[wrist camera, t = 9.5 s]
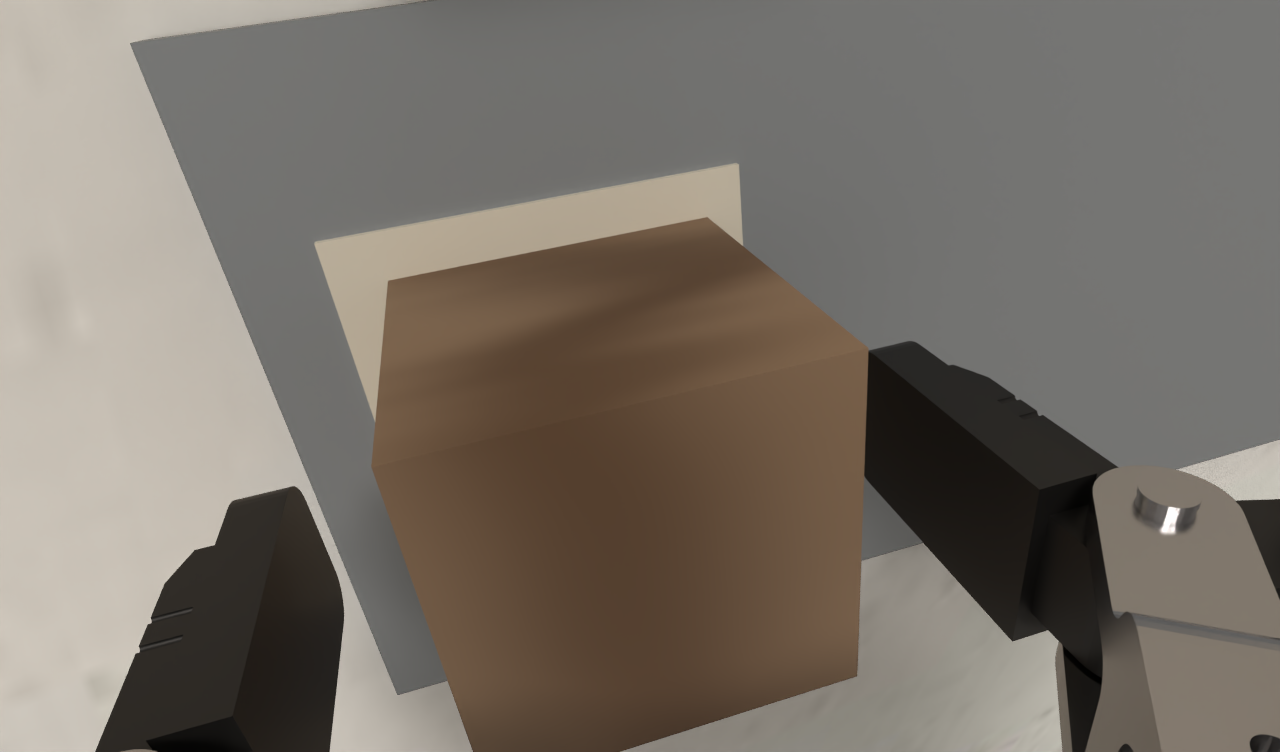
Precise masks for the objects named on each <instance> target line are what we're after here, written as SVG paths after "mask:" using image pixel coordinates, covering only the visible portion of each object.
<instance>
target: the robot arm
mask: <svg viewBox="0 0 1280 752" xmlns="http://www.w3.org/2000/svg"><path fill="white" fill-rule="evenodd" d="M864 476H865V478H866V479H867V481H868V482H869V483H870V484H871V485H872V486H873V488H874V489H875V490H876V491H877V492H878V493H879V494H880V495H881V496H882V498H883V499H884V500H885V501H886V502H887V503H888V504H889V505H890V506H891V508H892V509H893V510H894V511H895V512H896V513H897V514H898V515H899V516H900V517H901V519H902V520H903V521H904V522H905V523H906V524H907V525H908V526H909V527H910V529H911V530H912V531H913V532H914V533H915V534H916V535H917V536H918V537H919V539H920V540H921V541H922V542H923V543H924V544H925V545H926V546H927V547H928V548H929V550H930V551H931V552H932V553H933V554H934V555H935V556H936V557H937V558H938V560H939V561H940V562H941V563H942V564H943V565H944V566H945V567H946V568H947V570H948V571H949V572H950V573H951V574H952V575H953V576H954V577H955V578H956V580H957V581H958V582H959V583H960V584H961V585H962V586H963V587H964V588H965V589H966V591H967V592H968V593H969V594H970V595H971V596H972V597H973V598H974V599H975V601H976V602H977V603H978V604H979V605H980V606H981V607H982V608H983V609H984V611H985V612H986V613H987V614H988V615H989V616H990V617H991V618H992V619H993V620H994V622H995V623H996V624H997V625H998V626H999V627H1000V628H1001V629H1002V630H1003V632H1004V633H1005V634H1006V635H1007V636H1008V637H1009V638H1010V639H1011V640H1012V641H1015V640H1018V639H1021V638H1025V637H1028V636H1031V635H1034V634H1037V633H1040V632H1043V631H1046V630H1049V631H1050V632H1051V633H1052V635H1053V636H1054V637H1055V638H1056V639H1057V640H1058V641H1059V642H1058V647H1057V651H1056V656H1055V667H1056V679H1057V691H1058V703H1059V715H1060V728H1061V740H1062V752H1280V499H1274V500H1242V501H1235V500H1234V499H1233V498H1232V497H1231V496H1230V495H1229V494H1227V493H1226V492H1225V491H1223V490H1222V489H1220V488H1219V487H1217V486H1216V485H1214V484H1212V483H1210V482H1208V481H1206V480H1204V479H1202V478H1199V477H1197V476H1194V475H1192V474H1188V473H1185V472H1182V471H1179V470H1174V469H1170V468H1165V467H1159V466H1148V465H1131V466H1123V467H1117V466H1116V465H1115V464H1113V463H1112V462H1110V461H1109V460H1107V459H1106V458H1104V457H1103V456H1102V455H1100V454H1099V453H1097V452H1096V451H1094V450H1093V449H1091V448H1090V447H1089V446H1087V445H1086V444H1084V443H1083V442H1081V441H1080V440H1078V439H1077V438H1076V437H1074V436H1073V435H1071V434H1070V433H1068V432H1067V431H1065V430H1064V429H1063V428H1061V427H1060V426H1058V425H1057V424H1055V423H1054V422H1053V421H1051V420H1050V419H1048V418H1047V417H1045V416H1044V415H1041V416H1039V415H1038V413H1037V410H1035V409H1034V408H1032V407H1031V406H1029V405H1028V404H1027V403H1025V402H1024V401H1022V400H1021V399H1020V400H1016V398H1015V395H1014V394H1012V393H1011V392H1009V391H1008V390H1006V389H1005V388H1003V387H1002V386H1001V385H999V384H998V383H996V382H995V381H993V380H992V379H990V378H989V377H987V376H984V375H981V374H978V373H975V372H973V371H970V370H967V369H964V368H962V367H959V366H956V365H947V364H946V363H945V362H943V361H942V360H940V359H939V358H938V357H936V356H935V355H933V354H932V353H931V352H929V351H928V350H927V349H925V348H924V347H922V346H921V345H920V344H918V343H916V342H914V341H906V342H902V343H898V344H894V345H889V346H885V347H881V348H877V349H873V350H869V351H868V379H867V408H866V437H865V465H864ZM151 619H152V623H151V624H148V625H147V628H146V630H145V633H144V635H143V638H142V640H141V642H140V645H139V647H140V653H137V654H135V657H134V659H133V662H132V664H131V667H130V669H129V671H128V674H127V676H126V679H125V681H124V683H123V686H122V688H121V691H120V693H119V696H118V698H117V700H116V703H115V705H114V708H113V710H112V712H111V715H110V717H109V720H108V722H107V724H106V727H105V729H104V732H103V734H102V737H101V739H100V741H99V744H98V746H97V749H96V751H95V752H329V751H330V742H331V732H332V723H333V714H334V705H335V696H336V687H337V678H338V669H339V660H340V651H341V642H342V633H343V624H344V606H343V598H342V592H341V587H340V584H339V580H338V577H337V574H336V571H335V569H334V567H333V564H332V562H331V559H330V557H329V555H328V552H327V550H326V548H325V545H324V543H323V540H322V538H321V536H320V533H319V531H318V529H317V526H316V524H315V521H314V519H313V517H312V514H311V512H310V510H309V507H308V505H307V502H306V500H305V498H304V496H303V494H302V493H301V491H300V490H299V489H298V488H297V487H295V486H293V487H288V488H284V489H280V490H276V491H271V492H267V493H263V494H259V495H255V496H251V497H246V498H242V499H238V500H234V501H232V502H231V504H230V505H229V507H228V510H227V512H226V515H225V518H224V521H223V524H222V527H221V529H220V532H219V535H218V538H217V541H216V544H215V545H214V546H210V547H206V548H202V549H198V550H194V552H193V553H192V554H191V555H190V556H189V557H188V558H187V559H186V561H185V562H184V563H183V564H182V565H181V566H180V567H179V568H178V569H177V571H176V572H175V573H174V574H173V575H172V576H171V577H170V578H169V579H168V581H167V582H166V583H165V584H164V587H163V589H162V592H161V594H160V597H159V599H158V601H157V604H156V606H155V609H154V611H153V613H152V616H151Z"/></svg>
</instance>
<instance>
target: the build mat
mask: <svg viewBox="0 0 1280 752" xmlns="http://www.w3.org/2000/svg"><path fill="white" fill-rule="evenodd" d="M130 45H131V47H132V49H133V52H134V54H135V57H136V59H137V62H138V64H139V67H140V69H141V71H142V74H143V76H144V79H145V81H146V84H147V86H148V88H149V91H150V93H151V96H152V98H153V101H154V103H155V106H156V108H157V110H158V113H159V115H160V118H161V120H162V123H163V125H164V127H165V130H166V132H167V135H168V137H169V140H170V142H171V144H172V147H173V149H174V152H175V154H176V157H177V159H178V162H179V164H180V166H181V169H182V171H183V174H184V176H185V179H186V181H187V183H188V186H189V188H190V191H191V193H192V196H193V198H194V201H195V203H196V205H197V208H198V210H199V213H200V215H201V218H202V220H203V222H204V225H205V227H206V230H207V232H208V235H209V237H210V239H211V242H212V244H213V247H214V249H215V252H216V254H217V257H218V259H219V261H220V264H221V266H222V269H223V271H224V274H225V276H226V278H227V281H228V283H229V286H230V288H231V291H232V293H233V296H234V298H235V300H236V303H237V305H238V308H239V310H240V313H241V315H242V317H243V320H244V322H245V325H246V327H247V330H248V332H249V334H250V337H251V339H252V342H253V344H254V347H255V349H256V352H257V354H258V356H259V359H260V361H261V364H262V366H263V369H264V371H265V373H266V376H267V378H268V381H269V383H270V386H271V388H272V390H273V393H274V395H275V398H276V400H277V403H278V405H279V408H280V410H281V412H282V415H283V417H284V420H285V422H286V425H287V427H288V429H289V432H290V434H291V437H292V439H293V442H294V444H295V447H296V449H297V451H298V454H299V456H300V459H301V461H302V464H303V466H304V468H305V471H306V473H307V476H308V478H309V481H310V483H311V485H312V488H313V490H314V493H315V495H316V498H317V500H318V503H319V505H320V507H321V510H322V512H323V515H324V517H325V520H326V522H327V524H328V527H329V529H330V532H331V534H332V537H333V539H334V542H335V544H336V546H337V549H338V551H339V554H340V556H341V559H342V561H343V563H344V566H345V568H346V571H347V573H348V576H349V578H350V580H351V583H352V585H353V588H354V590H355V593H356V595H357V598H358V600H359V602H360V605H361V607H362V610H363V612H364V615H365V617H366V619H367V622H368V624H369V627H370V629H371V632H372V634H373V636H374V639H375V641H376V644H377V646H378V649H379V651H380V654H381V656H382V658H383V661H384V663H385V666H386V668H387V671H388V673H389V675H390V678H391V680H392V683H393V685H394V688H395V690H396V693H397V695H400V694H403V693H407V692H410V691H413V690H417V689H420V688H424V687H427V686H431V685H434V684H438V683H441V682H445V681H448V680H447V677H446V674H445V672H444V669H443V666H442V663H441V660H440V658H439V655H438V652H437V649H436V646H435V644H434V641H433V638H432V635H431V632H430V630H429V627H428V624H427V621H426V619H425V616H424V613H423V610H422V607H421V605H420V602H419V599H418V596H417V593H416V591H415V588H414V585H413V582H412V579H411V577H410V574H409V571H408V568H407V565H406V563H405V560H404V557H403V554H402V551H401V549H400V546H399V543H398V540H397V538H396V535H395V532H394V529H393V526H392V524H391V521H390V518H389V515H388V512H387V510H386V507H385V504H384V501H383V498H382V496H381V493H380V490H379V487H378V484H377V482H376V479H375V476H374V473H373V471H372V468H371V464H372V453H373V442H374V430H375V419H376V408H377V397H378V386H379V375H380V364H381V352H382V341H383V330H384V319H385V308H386V297H387V286H388V281H389V280H394V279H399V278H404V277H409V276H414V275H419V274H424V273H429V272H434V271H439V270H444V269H449V268H454V267H459V266H464V265H469V264H474V263H479V262H484V261H489V260H494V259H499V258H504V257H509V256H515V255H520V254H525V253H530V252H535V251H540V250H545V249H550V248H555V247H560V246H565V245H570V244H575V243H580V242H585V241H590V240H595V239H600V238H605V237H610V236H615V235H620V234H625V233H630V232H635V231H640V230H645V229H650V228H655V227H660V226H665V225H670V224H675V223H680V222H685V221H690V220H695V219H700V218H705V217H708V218H709V219H710V220H712V221H713V222H714V223H715V224H716V225H718V226H719V227H720V228H721V229H723V230H724V231H725V232H726V233H728V234H729V235H730V236H731V237H732V238H734V239H735V240H736V241H737V242H739V243H740V244H741V245H742V246H744V247H745V248H746V249H747V250H748V251H750V252H751V253H752V254H753V255H755V256H756V257H757V258H758V259H760V260H761V261H762V262H763V263H764V264H766V265H767V266H768V267H769V268H771V269H772V270H773V271H774V272H776V273H777V274H778V275H779V276H780V277H782V278H783V279H784V280H785V281H787V282H788V283H789V284H790V285H792V286H793V287H794V288H795V289H796V290H798V291H799V292H800V293H801V294H803V295H804V296H805V297H806V298H808V299H809V300H810V301H811V302H812V303H814V304H815V305H816V306H817V307H819V308H820V309H821V310H822V311H824V312H825V313H826V314H827V315H828V316H830V317H831V318H832V319H833V320H835V321H836V322H837V323H838V324H840V325H841V326H842V327H843V328H845V329H846V330H847V331H848V332H849V333H851V334H852V335H853V336H854V337H856V338H857V339H858V340H859V341H861V342H862V343H863V344H864V345H865V346H867V347H868V348H869V350H873V349H877V348H881V347H885V346H889V345H894V344H898V343H902V342H906V341H914V342H916V343H918V344H920V345H921V346H922V347H924V348H925V349H927V350H928V351H929V352H931V353H932V354H933V355H935V356H936V357H938V358H939V359H940V360H942V361H943V362H945V363H946V364H947V365H956V366H959V367H962V368H964V369H967V370H970V371H973V372H975V373H978V374H981V375H984V376H987V377H989V378H990V379H992V380H993V381H995V382H996V383H998V384H999V385H1001V386H1002V387H1003V388H1005V389H1006V390H1008V391H1009V392H1011V393H1012V394H1014V395H1015V398H1016V400H1020V399H1021V400H1022V401H1024V402H1025V403H1027V404H1028V405H1029V406H1031V407H1032V408H1034V409H1035V410H1037V413H1038V415H1039V416H1041V415H1044V416H1045V417H1047V418H1048V419H1050V420H1051V421H1053V422H1054V423H1055V424H1057V425H1058V426H1060V427H1061V428H1063V429H1064V430H1065V431H1067V432H1068V433H1070V434H1071V435H1073V436H1074V437H1076V438H1077V439H1078V440H1080V441H1081V442H1083V443H1084V444H1086V445H1087V446H1089V447H1090V448H1091V449H1093V450H1094V451H1096V452H1097V453H1099V454H1100V455H1102V456H1103V457H1104V458H1106V459H1107V460H1109V461H1110V462H1112V463H1113V464H1115V465H1116V466H1117V467H1123V466H1131V465H1148V466H1159V467H1165V468H1170V469H1174V470H1176V469H1180V468H1183V467H1187V466H1190V465H1193V464H1197V463H1200V462H1204V461H1207V460H1211V459H1214V458H1218V457H1221V456H1225V455H1228V454H1231V453H1235V452H1238V451H1242V450H1245V449H1249V448H1252V447H1256V446H1259V445H1263V444H1266V443H1269V442H1273V441H1276V440H1280V0H430V1H423V2H415V3H408V4H401V5H394V6H386V7H379V8H372V9H365V10H357V11H350V12H343V13H336V14H329V15H321V16H314V17H307V18H300V19H292V20H285V21H278V22H271V23H263V24H256V25H249V26H242V27H235V28H227V29H220V30H213V31H206V32H198V33H191V34H184V35H177V36H169V37H162V38H155V39H148V40H142V41H138V42H133V43H130ZM921 543H923V542H922V541H921V540H920V539H919V537H918V536H917V535H916V534H915V533H914V532H913V531H912V530H911V529H910V527H909V526H908V525H907V524H906V523H905V522H904V521H903V520H902V519H901V517H900V516H899V515H898V514H897V513H896V512H895V511H894V510H893V509H892V508H891V506H890V505H889V504H888V503H887V502H886V501H885V500H884V499H883V498H882V496H881V495H880V494H879V493H878V492H877V491H876V490H875V489H874V488H873V486H872V485H871V484H870V483H869V482H868V481H867V479H866V478H865V476H864V494H863V523H862V551H861V561H862V560H866V559H869V558H873V557H876V556H879V555H883V554H886V553H890V552H893V551H897V550H900V549H904V548H907V547H910V546H914V545H917V544H921Z"/></svg>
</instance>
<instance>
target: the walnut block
mask: <svg viewBox="0 0 1280 752" xmlns="http://www.w3.org/2000/svg"><path fill="white" fill-rule="evenodd" d="M868 351H869V348H868V347H867V346H865V345H864V344H863V343H862V342H861V341H859V340H858V339H857V338H856V337H854V336H853V335H852V334H851V333H849V332H848V331H847V330H846V329H845V328H843V327H842V326H841V325H840V324H838V323H837V322H836V321H835V320H833V319H832V318H831V317H830V316H828V315H827V314H826V313H825V312H824V311H822V310H821V309H820V308H819V307H817V306H816V305H815V304H814V303H812V302H811V301H810V300H809V299H808V298H806V297H805V296H804V295H803V294H801V293H800V292H799V291H798V290H796V289H795V288H794V287H793V286H792V285H790V284H789V283H788V282H787V281H785V280H784V279H783V278H782V277H780V276H779V275H778V274H777V273H776V272H774V271H773V270H772V269H771V268H769V267H768V266H767V265H766V264H764V263H763V262H762V261H761V260H760V259H758V258H757V257H756V256H755V255H753V254H752V253H751V252H750V251H748V250H747V249H746V248H745V247H744V246H742V245H741V244H740V243H739V242H737V241H736V240H735V239H734V238H732V237H731V236H730V235H729V234H728V233H726V232H725V231H724V230H723V229H721V228H720V227H719V226H718V225H716V224H715V223H714V222H713V221H712V220H710V219H709V218H708V217H705V218H700V219H695V220H690V221H685V222H680V223H675V224H670V225H665V226H660V227H655V228H650V229H645V230H640V231H635V232H630V233H625V234H620V235H615V236H610V237H605V238H600V239H595V240H590V241H585V242H580V243H575V244H570V245H565V246H560V247H555V248H550V249H545V250H540V251H535V252H530V253H525V254H520V255H515V256H509V257H504V258H499V259H494V260H489V261H484V262H479V263H474V264H469V265H464V266H459V267H454V268H449V269H444V270H439V271H434V272H429V273H424V274H419V275H414V276H409V277H404V278H399V279H394V280H389V281H388V286H387V297H386V308H385V319H384V330H383V341H382V352H381V364H380V375H379V386H378V397H377V408H376V419H375V430H374V442H373V453H372V464H371V468H372V471H373V473H374V476H375V479H376V482H377V484H378V487H379V490H380V493H381V496H382V498H383V501H384V504H385V507H386V510H387V512H388V515H389V518H390V521H391V524H392V526H393V529H394V532H395V535H396V538H397V540H398V543H399V546H400V549H401V551H402V554H403V557H404V560H405V563H406V565H407V568H408V571H409V574H410V577H411V579H412V582H413V585H414V588H415V591H416V593H417V596H418V599H419V602H420V605H421V607H422V610H423V613H424V616H425V619H426V621H427V624H428V627H429V630H430V632H431V635H432V638H433V641H434V644H435V646H436V649H437V652H438V655H439V658H440V660H441V663H442V666H443V669H444V672H445V674H446V677H447V680H448V683H449V686H450V688H451V691H452V694H453V697H454V700H455V702H456V705H457V708H458V711H459V713H460V716H461V719H462V722H463V725H464V727H465V730H466V733H467V736H468V739H469V741H470V744H471V747H472V750H473V752H620V751H623V750H626V749H630V748H633V747H636V746H639V745H642V744H645V743H648V742H652V741H655V740H658V739H661V738H664V737H667V736H670V735H674V734H677V733H680V732H683V731H686V730H689V729H692V728H696V727H699V726H702V725H705V724H708V723H711V722H714V721H718V720H721V719H724V718H727V717H730V716H733V715H736V714H740V713H743V712H746V711H749V710H752V709H755V708H758V707H762V706H765V705H768V704H771V703H774V702H777V701H780V700H784V699H787V698H790V697H793V696H796V695H799V694H802V693H806V692H809V691H812V690H815V689H818V688H821V687H824V686H828V685H831V684H834V683H837V682H840V681H843V680H846V679H850V678H853V677H856V676H857V666H858V637H859V609H860V580H861V551H862V523H863V494H864V465H865V437H866V408H867V379H868Z"/></svg>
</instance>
